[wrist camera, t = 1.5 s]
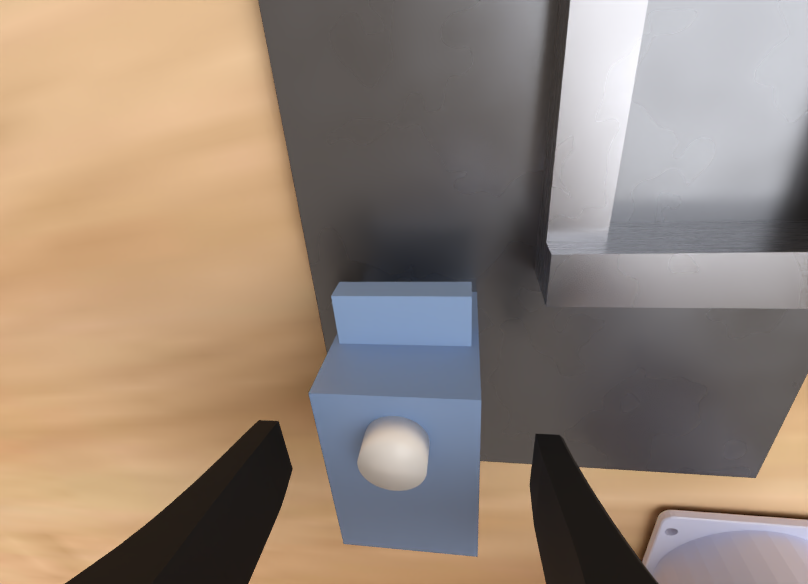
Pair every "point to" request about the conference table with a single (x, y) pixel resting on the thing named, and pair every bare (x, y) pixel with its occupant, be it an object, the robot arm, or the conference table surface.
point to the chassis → (572, 205)
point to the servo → (403, 415)
